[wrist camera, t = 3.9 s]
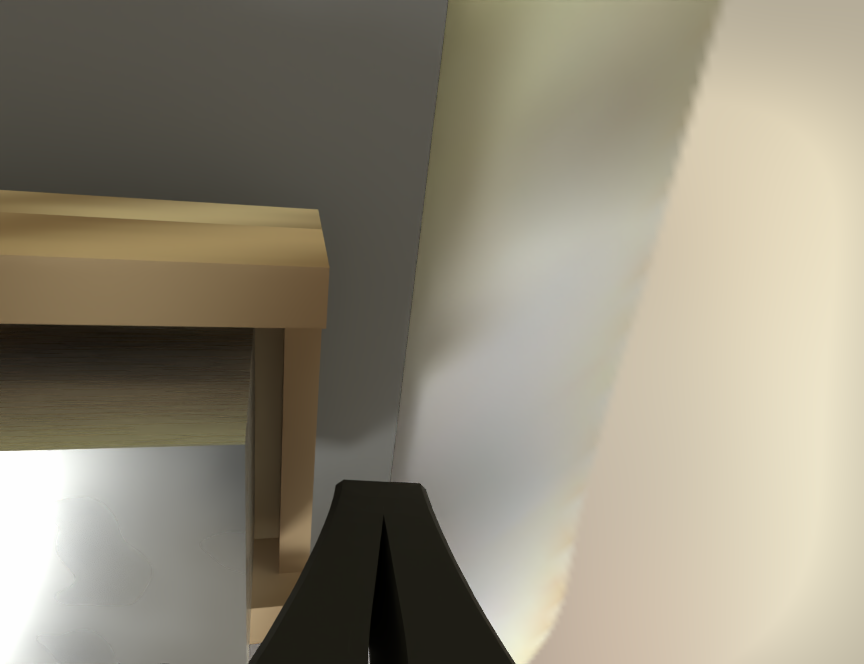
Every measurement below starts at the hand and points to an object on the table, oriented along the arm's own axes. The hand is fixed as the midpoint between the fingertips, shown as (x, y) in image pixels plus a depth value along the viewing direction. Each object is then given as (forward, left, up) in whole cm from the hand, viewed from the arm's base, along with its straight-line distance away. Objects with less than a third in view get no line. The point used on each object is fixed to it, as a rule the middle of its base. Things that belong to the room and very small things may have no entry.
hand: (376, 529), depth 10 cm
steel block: (0, +5, -2) cm, 5 cm away
